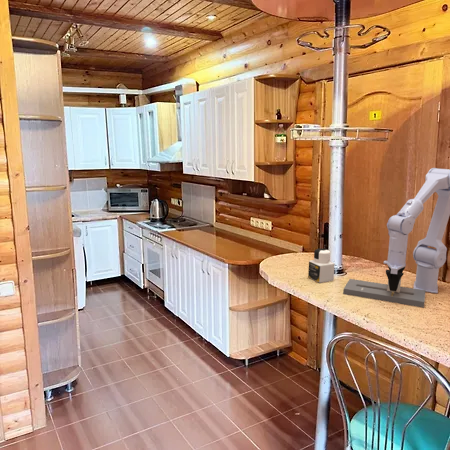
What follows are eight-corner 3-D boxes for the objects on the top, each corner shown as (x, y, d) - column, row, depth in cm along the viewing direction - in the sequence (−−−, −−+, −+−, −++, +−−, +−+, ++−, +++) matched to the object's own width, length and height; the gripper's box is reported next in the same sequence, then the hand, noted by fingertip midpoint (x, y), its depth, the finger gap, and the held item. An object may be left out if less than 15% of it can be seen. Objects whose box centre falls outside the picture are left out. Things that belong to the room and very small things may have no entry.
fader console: (349, 283, 157) (349, 278, 157) (424, 295, 146) (425, 289, 145) (343, 294, 147) (343, 288, 146) (424, 307, 135) (424, 301, 135)
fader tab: (387, 288, 147) (389, 274, 146) (400, 289, 145) (401, 276, 144) (387, 290, 144) (388, 277, 143) (399, 292, 142) (400, 278, 141)
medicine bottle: (307, 277, 164) (309, 248, 161) (322, 275, 167) (324, 246, 164) (318, 283, 157) (320, 253, 155) (333, 280, 160) (335, 251, 158)
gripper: (387, 244, 150) (383, 279, 152) (382, 253, 137) (379, 292, 140) (408, 246, 146) (404, 283, 149) (405, 256, 134) (401, 296, 137)
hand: (393, 287), depth 144 cm, fingers open, 5 cm apart
